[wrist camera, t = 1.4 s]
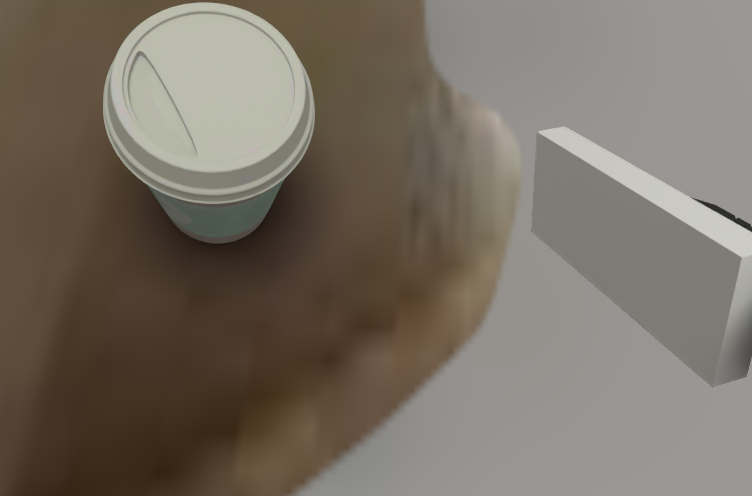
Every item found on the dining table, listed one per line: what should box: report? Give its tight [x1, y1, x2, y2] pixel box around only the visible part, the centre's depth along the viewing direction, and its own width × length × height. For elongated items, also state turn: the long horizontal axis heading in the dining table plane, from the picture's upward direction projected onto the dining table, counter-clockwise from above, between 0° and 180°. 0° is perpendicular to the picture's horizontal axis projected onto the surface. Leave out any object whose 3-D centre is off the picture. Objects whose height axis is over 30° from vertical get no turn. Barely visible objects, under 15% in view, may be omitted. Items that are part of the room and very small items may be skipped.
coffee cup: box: [103, 3, 315, 244], centre depth 33 cm, size 8×8×12 cm
